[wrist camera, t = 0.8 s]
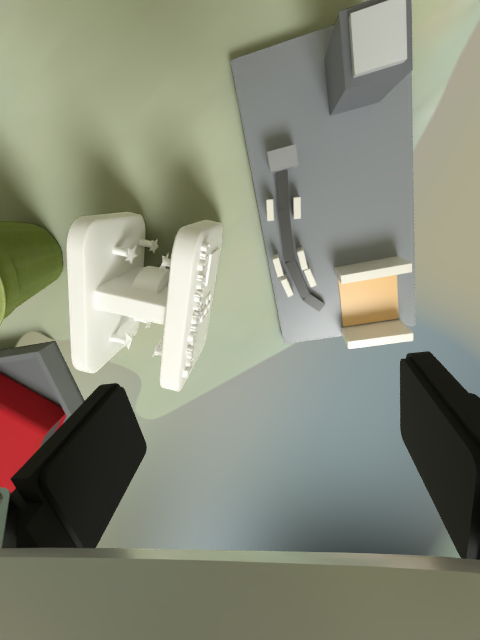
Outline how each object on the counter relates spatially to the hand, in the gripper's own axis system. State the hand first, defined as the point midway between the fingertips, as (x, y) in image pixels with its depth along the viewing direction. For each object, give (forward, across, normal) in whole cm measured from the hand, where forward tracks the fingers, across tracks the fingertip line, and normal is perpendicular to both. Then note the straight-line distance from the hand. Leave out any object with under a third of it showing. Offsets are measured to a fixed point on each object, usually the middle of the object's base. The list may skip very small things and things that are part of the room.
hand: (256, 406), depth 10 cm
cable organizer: (+25, +12, 0) cm, 27 cm away
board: (+24, -6, -4) cm, 25 cm away
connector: (+23, -9, -14) cm, 28 cm away
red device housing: (+24, +44, +18) cm, 54 cm away
